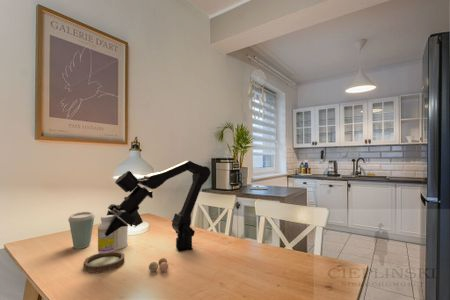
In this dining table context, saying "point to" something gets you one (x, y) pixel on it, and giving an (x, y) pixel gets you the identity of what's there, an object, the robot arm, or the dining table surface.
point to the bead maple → (153, 266)
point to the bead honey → (162, 261)
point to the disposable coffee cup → (81, 228)
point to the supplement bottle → (107, 242)
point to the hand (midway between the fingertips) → (103, 233)
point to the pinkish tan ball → (163, 267)
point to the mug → (122, 237)
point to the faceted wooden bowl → (103, 262)
